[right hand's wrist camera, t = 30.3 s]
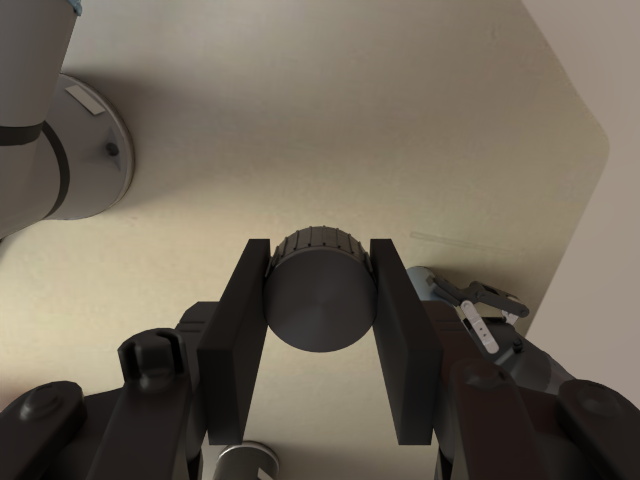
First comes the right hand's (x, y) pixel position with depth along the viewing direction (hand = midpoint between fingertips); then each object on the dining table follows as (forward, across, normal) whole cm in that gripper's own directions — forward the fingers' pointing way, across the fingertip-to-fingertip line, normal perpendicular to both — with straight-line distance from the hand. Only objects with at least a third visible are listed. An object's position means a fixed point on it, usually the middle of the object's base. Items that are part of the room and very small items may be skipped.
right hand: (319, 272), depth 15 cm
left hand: (+23, +10, -14) cm, 28 cm away
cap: (-2, 0, 0) cm, 2 cm away
